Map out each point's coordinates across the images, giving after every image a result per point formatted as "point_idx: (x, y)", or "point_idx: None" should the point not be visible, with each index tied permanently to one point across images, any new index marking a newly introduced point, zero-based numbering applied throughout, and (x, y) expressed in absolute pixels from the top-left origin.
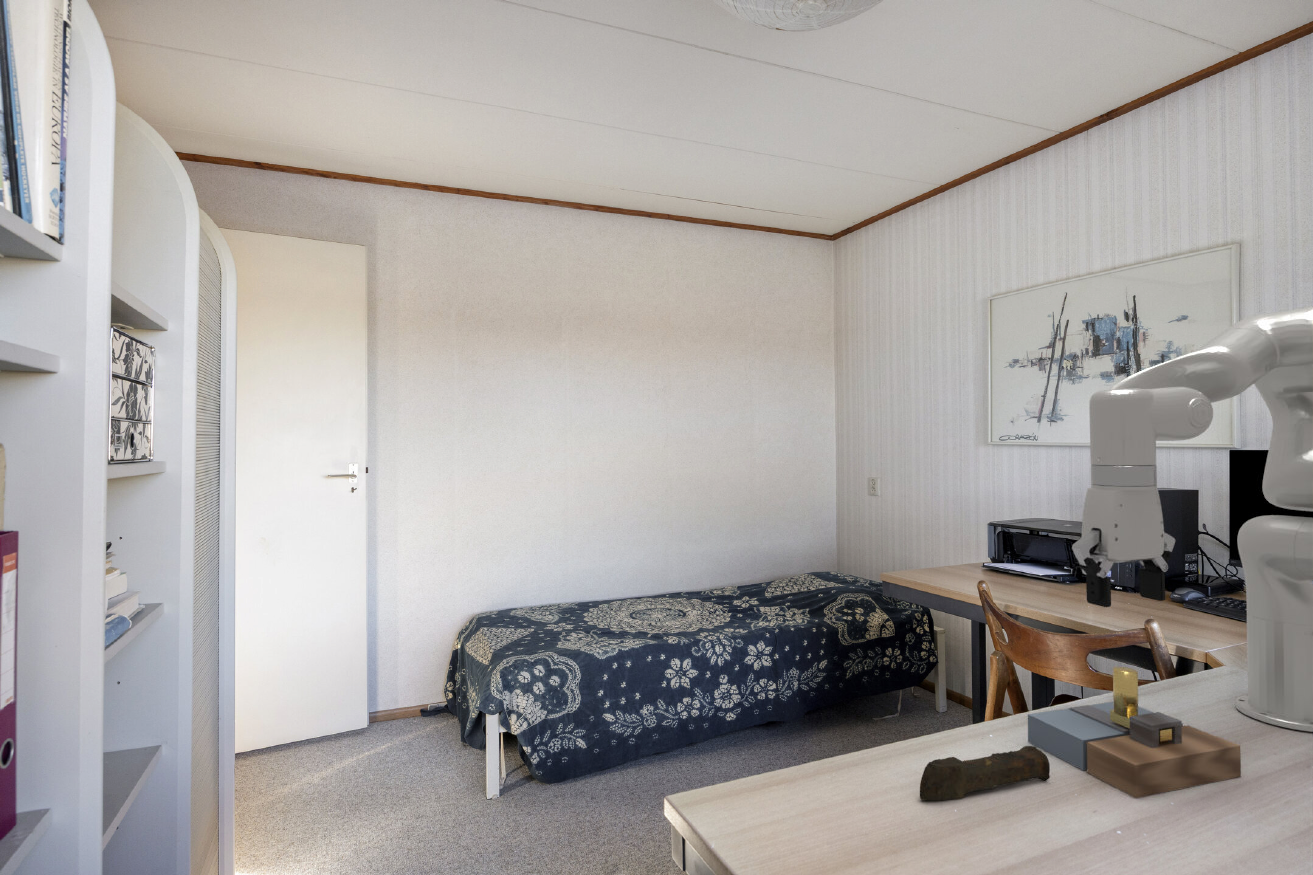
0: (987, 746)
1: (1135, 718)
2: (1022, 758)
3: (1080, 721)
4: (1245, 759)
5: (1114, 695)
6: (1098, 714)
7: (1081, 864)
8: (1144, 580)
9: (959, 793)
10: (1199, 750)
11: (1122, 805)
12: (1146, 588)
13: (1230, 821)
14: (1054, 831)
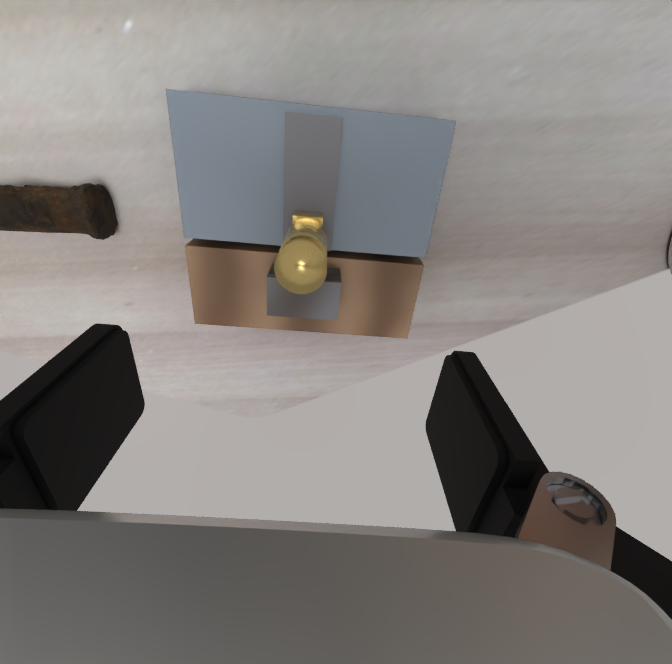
0: (88, 73)
1: (268, 286)
2: (46, 227)
3: (252, 172)
4: (467, 290)
5: (284, 238)
6: (310, 170)
7: (38, 361)
8: (465, 431)
9: None
10: (332, 327)
11: (176, 307)
12: (452, 406)
13: (268, 366)
14: (45, 315)
